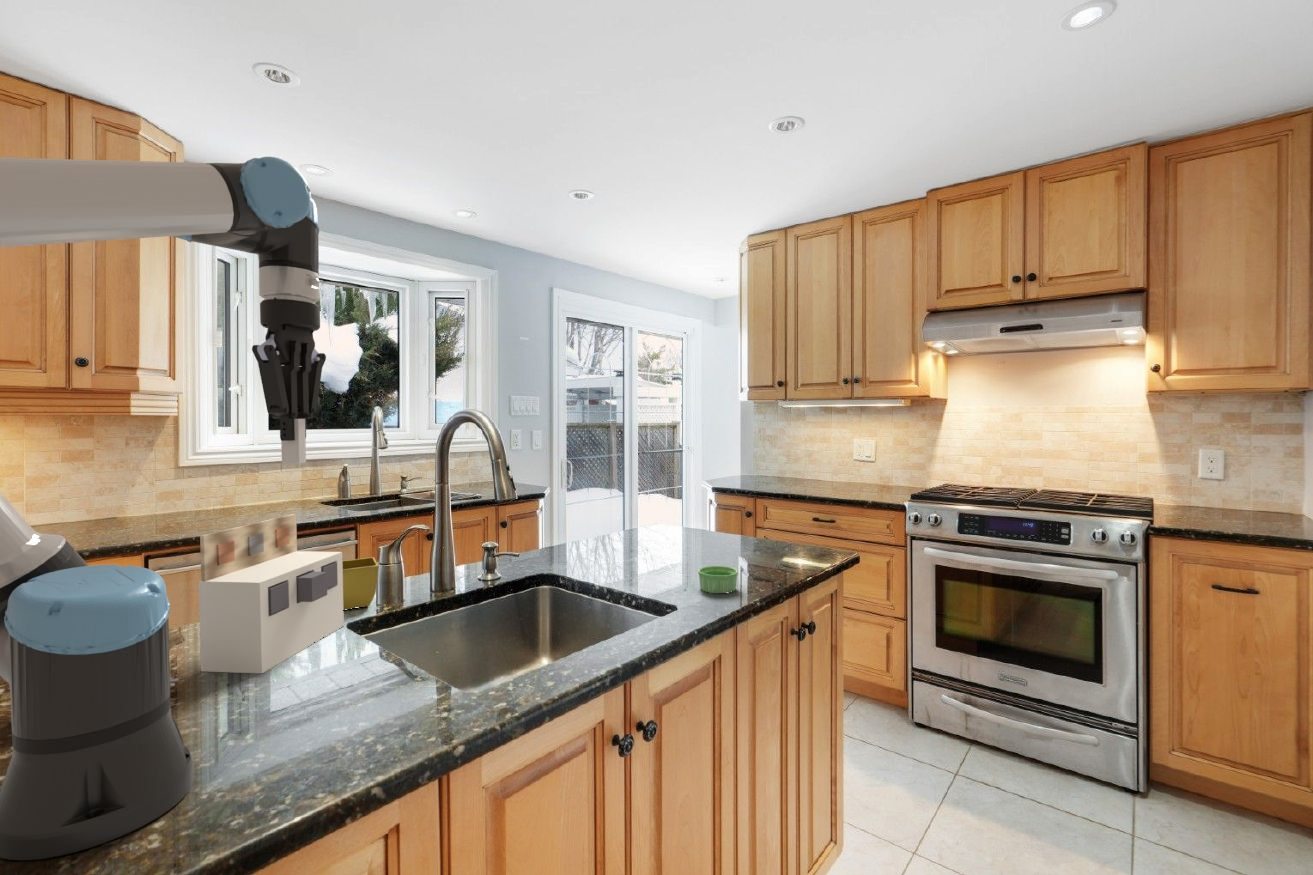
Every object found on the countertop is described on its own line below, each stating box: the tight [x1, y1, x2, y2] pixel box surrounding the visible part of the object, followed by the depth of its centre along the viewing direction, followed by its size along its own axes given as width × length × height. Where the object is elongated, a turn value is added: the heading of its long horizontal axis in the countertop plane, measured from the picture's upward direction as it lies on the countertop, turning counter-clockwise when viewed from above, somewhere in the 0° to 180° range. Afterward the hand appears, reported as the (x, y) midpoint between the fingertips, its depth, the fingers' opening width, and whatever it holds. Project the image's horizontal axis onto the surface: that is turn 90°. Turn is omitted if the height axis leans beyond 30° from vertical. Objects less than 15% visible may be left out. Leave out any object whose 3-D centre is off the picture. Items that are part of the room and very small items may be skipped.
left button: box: [268, 582, 289, 614], centre depth 97 cm, size 4×3×4 cm
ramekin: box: [697, 565, 739, 594], centre depth 139 cm, size 9×9×4 cm
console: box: [197, 550, 345, 675], centre depth 104 cm, size 21×10×14 cm, turn 175°
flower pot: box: [342, 557, 379, 610], centre depth 126 cm, size 9×9×9 cm
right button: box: [321, 563, 338, 589], centre depth 110 cm, size 4×3×4 cm
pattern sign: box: [199, 513, 298, 581], centre depth 104 cm, size 21×1×7 cm, turn 175°
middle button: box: [296, 572, 327, 602], centre depth 104 cm, size 4×3×4 cm
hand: (293, 462), depth 90 cm, fingers closed
